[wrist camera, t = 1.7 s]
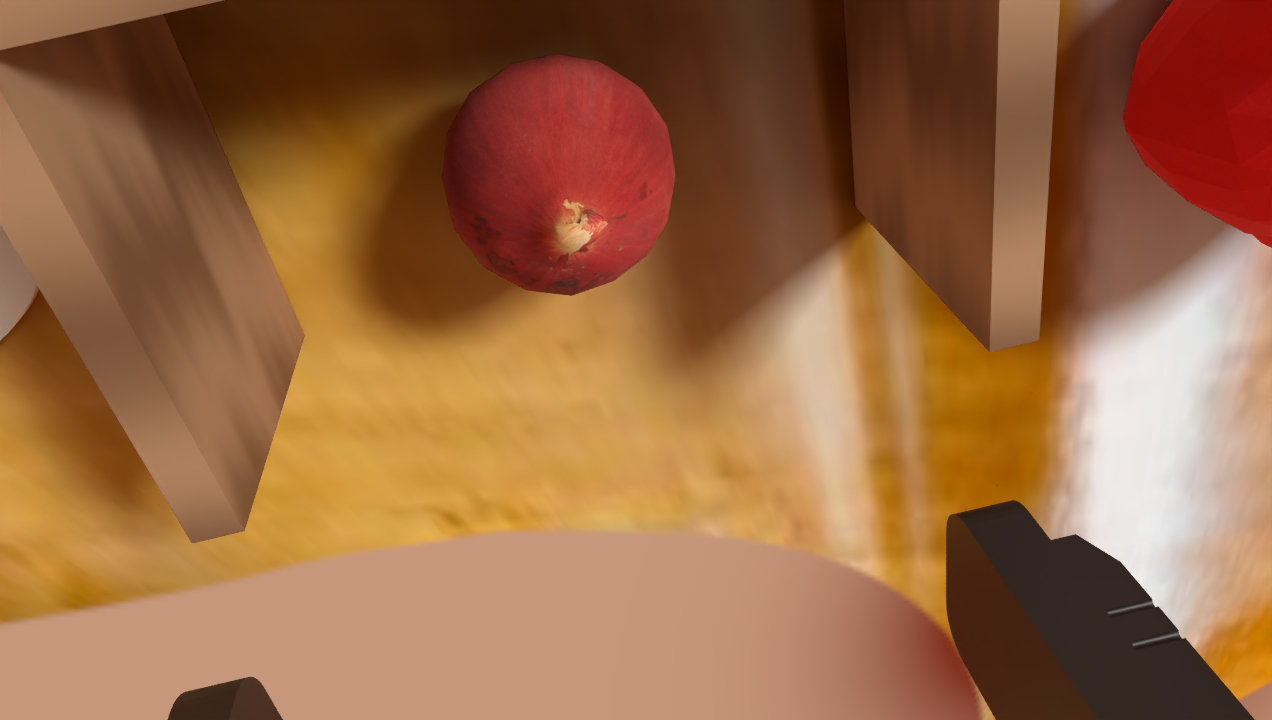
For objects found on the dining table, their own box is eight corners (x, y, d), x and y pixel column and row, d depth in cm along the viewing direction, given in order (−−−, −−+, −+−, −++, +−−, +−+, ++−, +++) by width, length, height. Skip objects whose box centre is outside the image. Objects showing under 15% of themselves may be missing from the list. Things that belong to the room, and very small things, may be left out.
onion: (627, 237, 29) (675, 375, 22) (437, 213, 27) (425, 351, 21) (668, 45, 26) (737, 135, 19) (457, 8, 25) (452, 91, 18)
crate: (70, -75, 22) (-137, -5, 15) (876, -250, 23) (1076, -272, 15) (266, 344, 29) (191, 543, 21) (892, 198, 29) (1039, 340, 22)
